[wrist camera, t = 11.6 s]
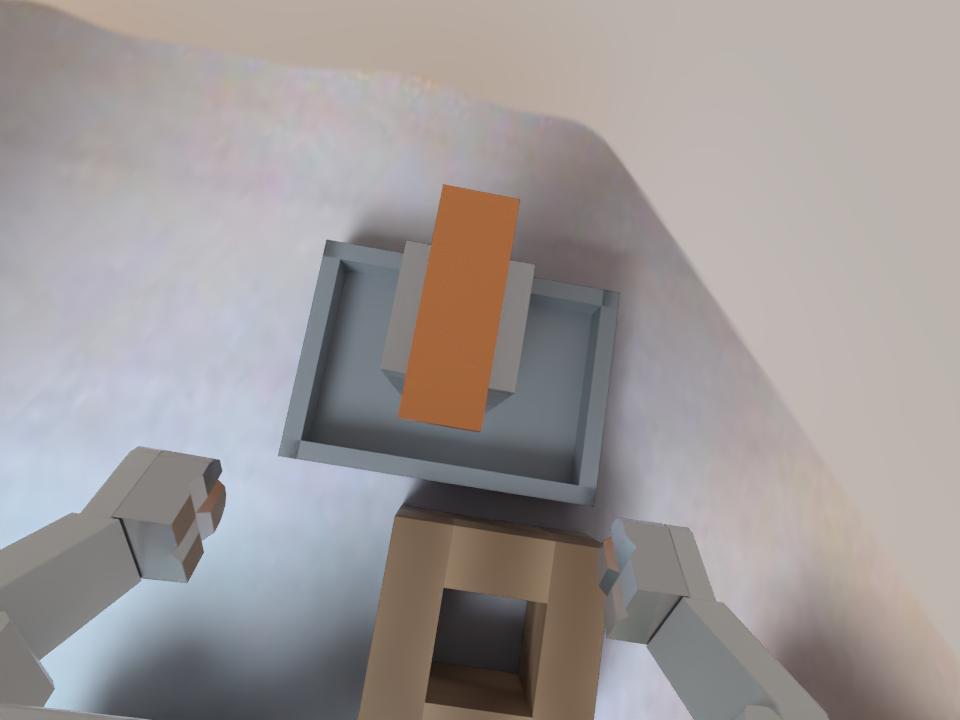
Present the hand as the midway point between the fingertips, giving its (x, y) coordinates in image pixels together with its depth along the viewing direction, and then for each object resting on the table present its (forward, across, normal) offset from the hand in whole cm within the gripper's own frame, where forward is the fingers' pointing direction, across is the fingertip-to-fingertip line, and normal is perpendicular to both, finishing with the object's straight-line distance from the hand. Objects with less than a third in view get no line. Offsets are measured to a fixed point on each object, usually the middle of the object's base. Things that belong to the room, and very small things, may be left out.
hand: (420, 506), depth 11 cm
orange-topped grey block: (+13, 0, +7) cm, 15 cm away
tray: (+14, -1, +7) cm, 15 cm away
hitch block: (+6, -4, +15) cm, 16 cm away
